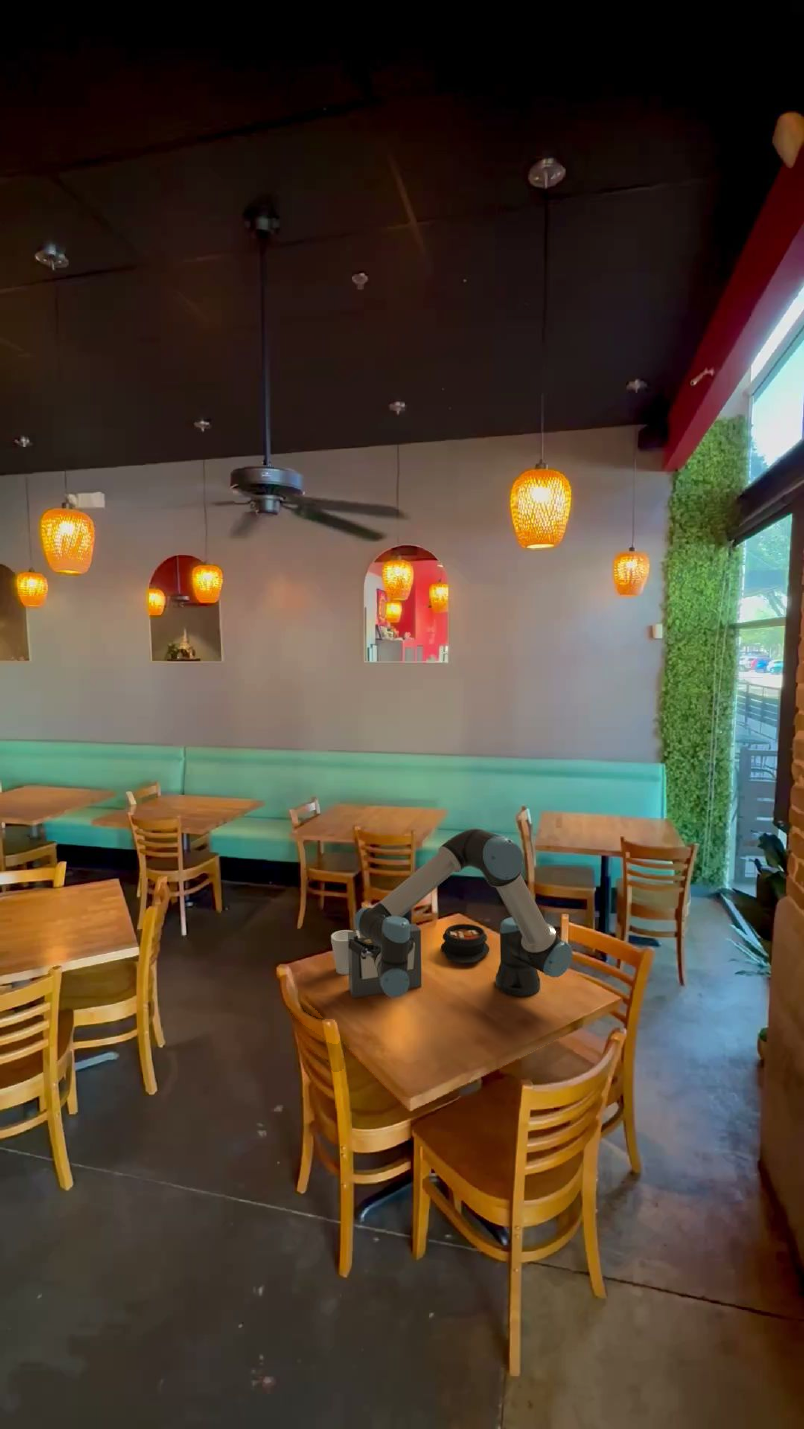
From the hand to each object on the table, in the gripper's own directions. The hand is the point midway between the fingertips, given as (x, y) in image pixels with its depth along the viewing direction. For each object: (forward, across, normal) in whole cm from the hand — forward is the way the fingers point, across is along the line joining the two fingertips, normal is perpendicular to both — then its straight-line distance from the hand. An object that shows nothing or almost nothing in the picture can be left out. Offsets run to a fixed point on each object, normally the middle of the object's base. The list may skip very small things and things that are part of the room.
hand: (377, 934), depth 205 cm
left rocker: (+6, -1, -17) cm, 17 cm away
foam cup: (+27, -7, -24) cm, 37 cm away
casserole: (+32, +39, -20) cm, 54 cm away
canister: (+39, +15, -21) cm, 47 cm away
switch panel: (+16, +5, -23) cm, 28 cm away
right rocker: (+9, +12, -15) cm, 21 cm away
